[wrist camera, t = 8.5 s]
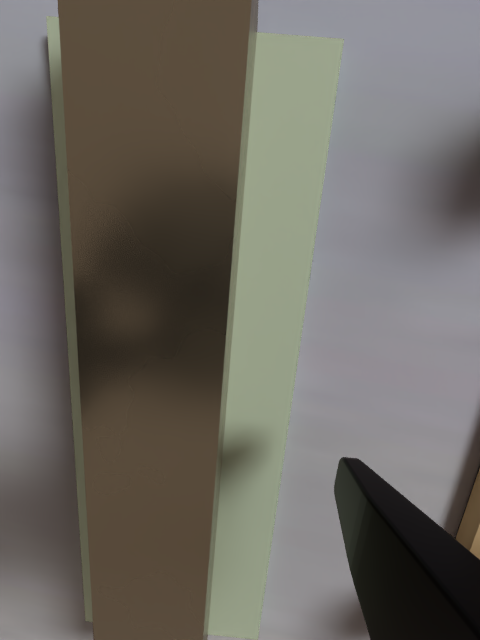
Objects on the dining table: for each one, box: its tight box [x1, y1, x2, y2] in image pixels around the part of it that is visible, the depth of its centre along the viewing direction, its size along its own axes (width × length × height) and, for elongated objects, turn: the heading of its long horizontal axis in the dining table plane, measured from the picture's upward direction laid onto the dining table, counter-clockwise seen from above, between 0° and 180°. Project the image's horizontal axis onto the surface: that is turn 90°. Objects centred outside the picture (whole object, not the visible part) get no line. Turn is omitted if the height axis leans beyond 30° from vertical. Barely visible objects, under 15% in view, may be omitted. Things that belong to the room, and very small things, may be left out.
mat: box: [46, 16, 344, 640], centre depth 9 cm, size 20×7×1 cm, turn 175°
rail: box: [58, 0, 258, 640], centre depth 7 cm, size 20×3×3 cm, turn 175°
